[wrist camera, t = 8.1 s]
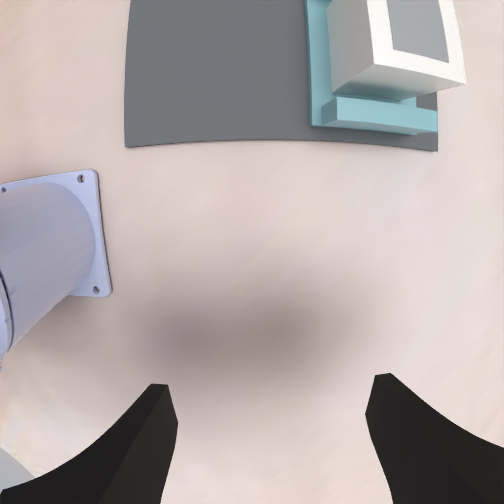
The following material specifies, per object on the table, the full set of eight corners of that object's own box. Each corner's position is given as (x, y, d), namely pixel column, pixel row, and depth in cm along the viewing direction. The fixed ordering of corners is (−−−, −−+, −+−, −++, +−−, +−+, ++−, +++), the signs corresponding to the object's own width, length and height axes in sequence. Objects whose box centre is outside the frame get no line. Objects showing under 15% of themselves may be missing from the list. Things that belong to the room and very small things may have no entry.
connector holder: (309, 126, 16) (325, 118, 12) (303, -10, 13) (314, -42, 9) (410, 135, 15) (446, 133, 12) (399, 6, 13) (427, -17, 9)
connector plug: (331, 92, 14) (374, 63, 8) (326, 10, 13) (358, -46, 7) (401, 100, 14) (466, 84, 8) (394, 21, 13) (447, -20, 7)
